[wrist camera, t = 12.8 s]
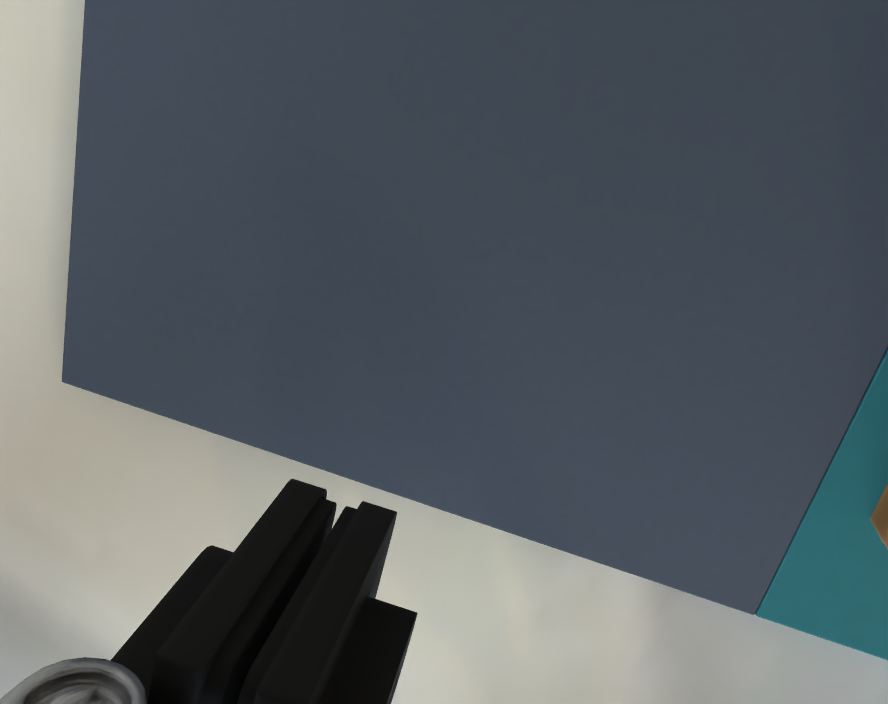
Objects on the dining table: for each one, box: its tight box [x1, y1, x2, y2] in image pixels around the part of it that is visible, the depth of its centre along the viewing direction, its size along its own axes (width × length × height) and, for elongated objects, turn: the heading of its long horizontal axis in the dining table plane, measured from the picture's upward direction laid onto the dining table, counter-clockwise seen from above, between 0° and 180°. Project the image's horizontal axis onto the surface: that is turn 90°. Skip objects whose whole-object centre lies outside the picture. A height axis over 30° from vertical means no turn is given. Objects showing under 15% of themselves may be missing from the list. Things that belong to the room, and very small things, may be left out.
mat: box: [62, 0, 888, 660], centre depth 19 cm, size 32×24×1 cm
